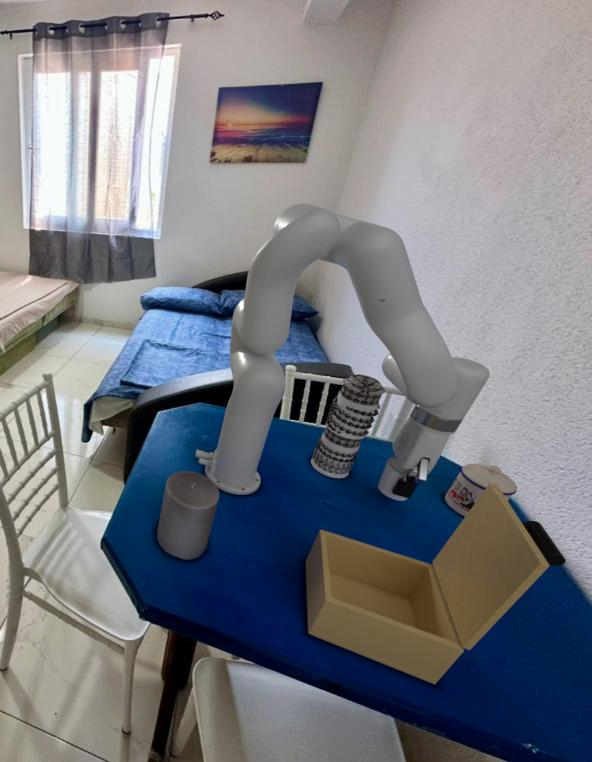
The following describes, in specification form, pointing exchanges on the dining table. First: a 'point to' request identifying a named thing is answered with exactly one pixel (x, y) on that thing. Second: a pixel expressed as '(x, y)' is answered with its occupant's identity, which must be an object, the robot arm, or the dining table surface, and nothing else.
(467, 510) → the teacup with lid
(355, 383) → the white patterned cylinder
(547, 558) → the lid
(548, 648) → the dining table surface
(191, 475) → the pillar candle
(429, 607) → the hinged wooden box
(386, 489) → the white short cylinder
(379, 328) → the robot arm
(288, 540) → the dining table surface
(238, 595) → the dining table surface
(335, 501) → the dining table surface
